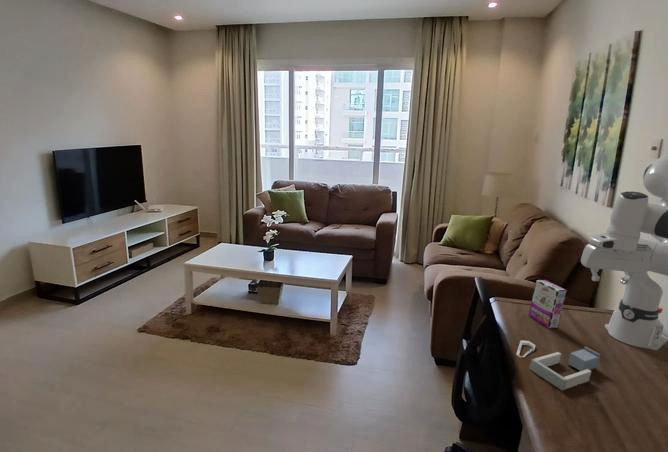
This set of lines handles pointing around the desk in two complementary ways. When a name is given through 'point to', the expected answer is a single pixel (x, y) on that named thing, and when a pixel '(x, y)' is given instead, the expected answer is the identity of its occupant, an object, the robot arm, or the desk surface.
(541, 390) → the desk surface
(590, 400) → the desk surface
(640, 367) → the desk surface
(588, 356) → the grey-blue box
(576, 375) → the bay
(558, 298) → the candy bar box
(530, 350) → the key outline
